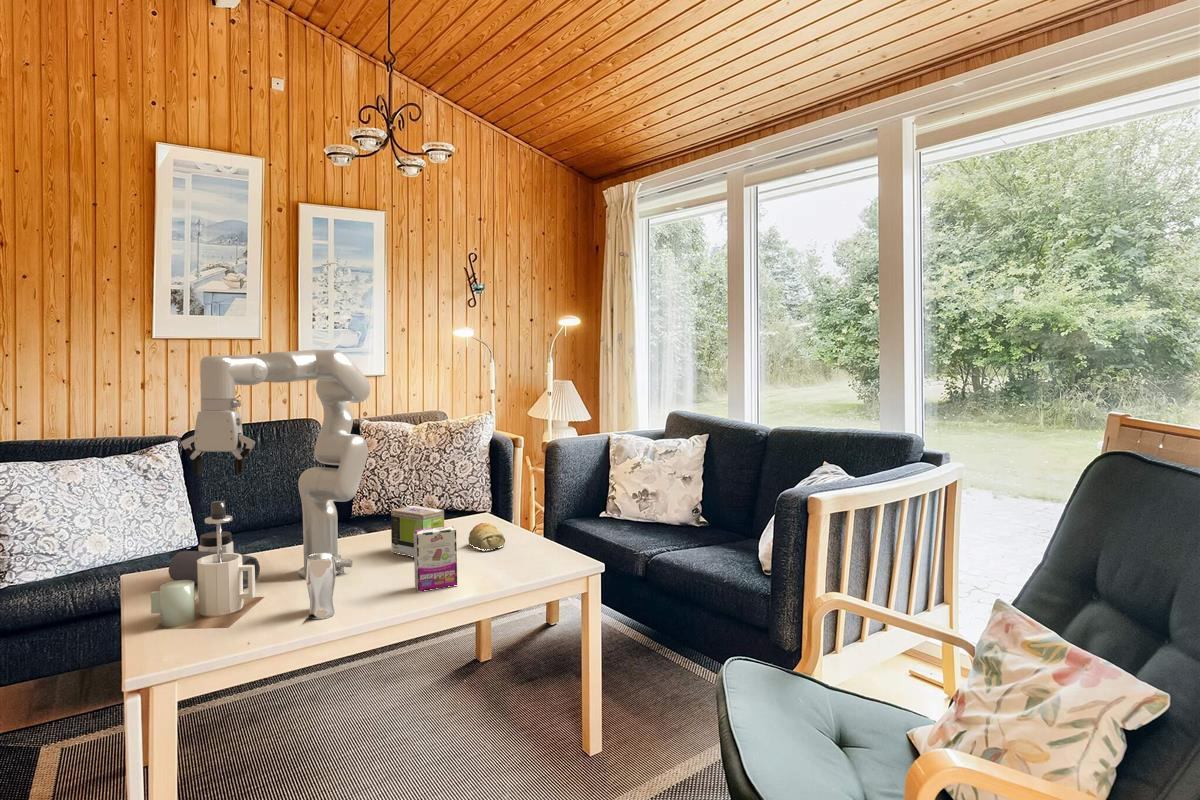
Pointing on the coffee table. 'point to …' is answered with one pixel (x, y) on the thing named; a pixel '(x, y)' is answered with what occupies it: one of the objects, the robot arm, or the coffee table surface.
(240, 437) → the robot arm
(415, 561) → the candy bar box
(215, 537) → the jar
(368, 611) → the coffee table surface
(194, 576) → the bluetooth speaker
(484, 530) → the pastry
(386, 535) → the coffee table surface
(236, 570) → the press carafe
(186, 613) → the sage mug
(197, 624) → the serving board
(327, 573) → the beer glass
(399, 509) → the tea box
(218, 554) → the plunger
